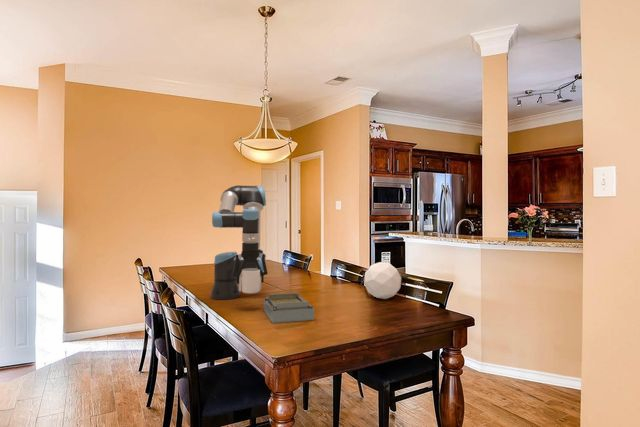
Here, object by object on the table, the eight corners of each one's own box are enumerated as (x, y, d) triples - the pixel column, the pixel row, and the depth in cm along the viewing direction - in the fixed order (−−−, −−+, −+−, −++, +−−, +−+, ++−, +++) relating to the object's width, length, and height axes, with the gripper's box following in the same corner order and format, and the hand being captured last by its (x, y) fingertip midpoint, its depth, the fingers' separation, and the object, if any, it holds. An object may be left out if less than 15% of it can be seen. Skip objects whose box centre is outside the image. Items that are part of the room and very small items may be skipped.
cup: (250, 294, 178) (250, 272, 177) (232, 290, 185) (232, 268, 184) (263, 291, 184) (263, 269, 184) (245, 287, 191) (245, 266, 191)
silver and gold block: (263, 309, 183) (263, 293, 183) (301, 307, 188) (301, 291, 188) (272, 323, 162) (272, 305, 162) (314, 319, 167) (314, 302, 167)
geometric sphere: (382, 308, 216) (393, 276, 225) (401, 303, 198) (412, 268, 207) (353, 291, 213) (365, 260, 222) (369, 285, 196) (382, 251, 205)
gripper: (227, 243, 177) (227, 293, 178) (274, 242, 183) (274, 290, 184) (226, 241, 184) (225, 289, 185) (271, 240, 190) (271, 287, 191)
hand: (249, 290), depth 185 cm, fingers closed on cup, 9 cm apart
